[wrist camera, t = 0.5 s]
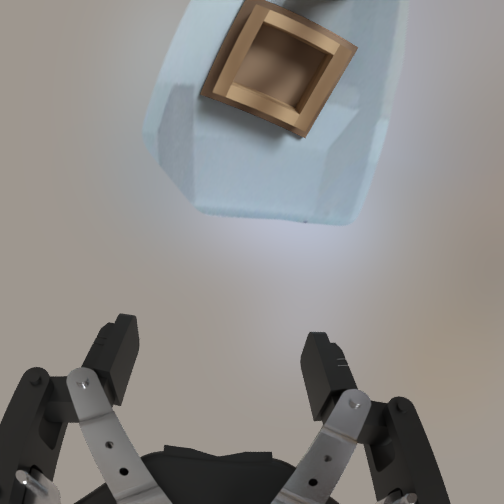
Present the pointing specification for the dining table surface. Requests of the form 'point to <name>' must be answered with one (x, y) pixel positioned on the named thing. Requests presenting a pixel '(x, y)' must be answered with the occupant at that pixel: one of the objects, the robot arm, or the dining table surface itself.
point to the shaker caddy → (278, 66)
